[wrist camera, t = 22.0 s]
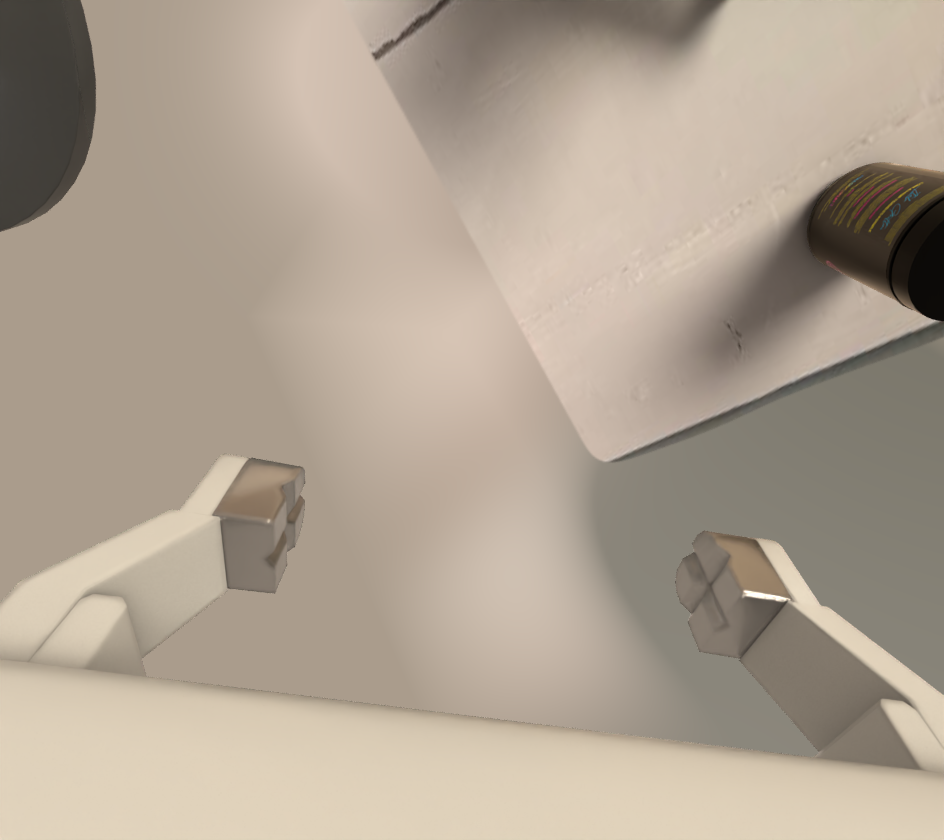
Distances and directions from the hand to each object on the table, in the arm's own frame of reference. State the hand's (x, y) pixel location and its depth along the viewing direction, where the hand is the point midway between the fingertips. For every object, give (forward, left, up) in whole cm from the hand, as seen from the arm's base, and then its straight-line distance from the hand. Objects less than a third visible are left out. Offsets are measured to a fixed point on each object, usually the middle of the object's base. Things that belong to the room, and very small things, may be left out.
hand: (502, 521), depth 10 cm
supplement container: (+24, +5, -29) cm, 38 cm away
